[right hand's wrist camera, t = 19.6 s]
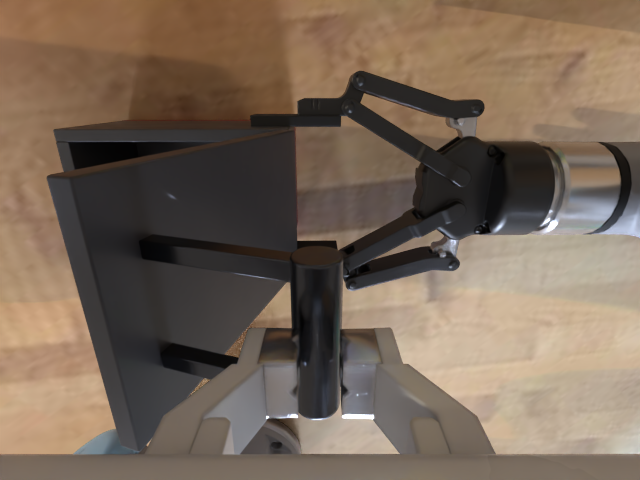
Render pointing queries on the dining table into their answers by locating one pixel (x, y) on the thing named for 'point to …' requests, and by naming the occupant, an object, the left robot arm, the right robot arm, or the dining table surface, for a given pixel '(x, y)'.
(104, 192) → the lid
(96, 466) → the right robot arm
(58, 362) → the dining table surface
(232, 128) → the chest
